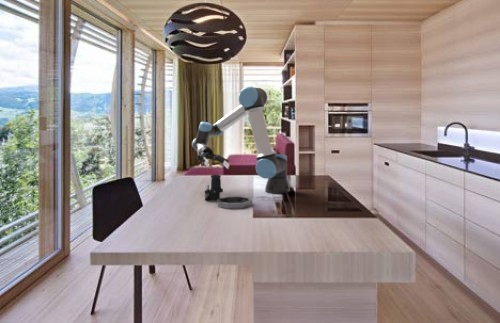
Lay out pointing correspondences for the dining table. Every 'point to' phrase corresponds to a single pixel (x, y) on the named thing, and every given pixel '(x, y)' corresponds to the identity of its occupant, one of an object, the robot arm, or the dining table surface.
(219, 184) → the scope
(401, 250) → the dining table surface
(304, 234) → the dining table surface
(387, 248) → the dining table surface
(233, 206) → the dark grey octagonal bowl
